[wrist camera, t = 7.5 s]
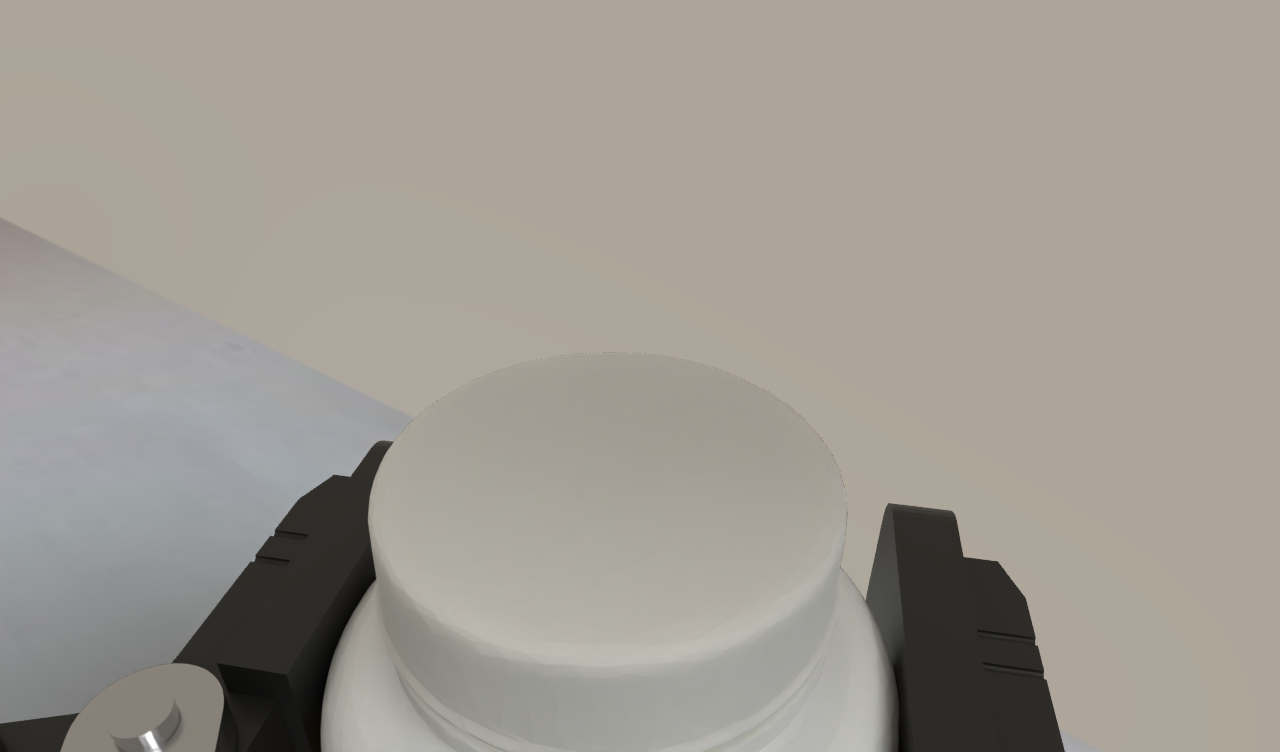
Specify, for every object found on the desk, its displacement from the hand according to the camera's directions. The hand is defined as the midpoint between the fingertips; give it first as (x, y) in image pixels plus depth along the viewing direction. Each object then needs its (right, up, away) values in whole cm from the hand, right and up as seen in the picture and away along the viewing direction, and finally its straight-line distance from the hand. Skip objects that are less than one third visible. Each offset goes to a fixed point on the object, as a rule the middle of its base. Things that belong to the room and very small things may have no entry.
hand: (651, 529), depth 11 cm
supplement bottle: (-1, -8, +2) cm, 8 cm away
